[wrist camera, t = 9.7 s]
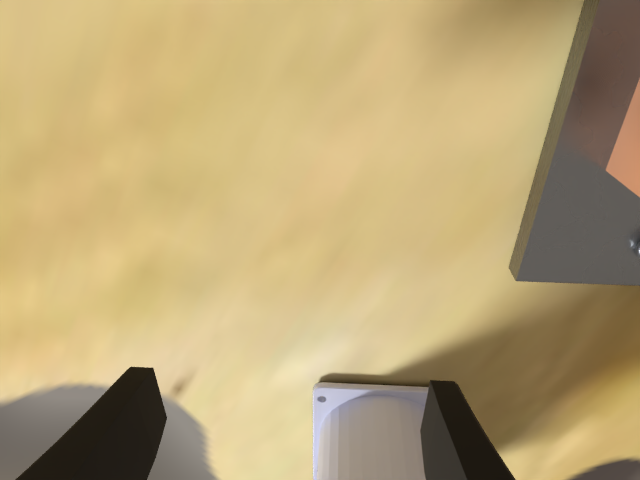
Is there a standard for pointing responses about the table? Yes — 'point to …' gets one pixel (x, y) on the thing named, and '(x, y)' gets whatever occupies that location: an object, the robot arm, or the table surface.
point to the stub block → (586, 162)
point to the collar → (628, 148)
